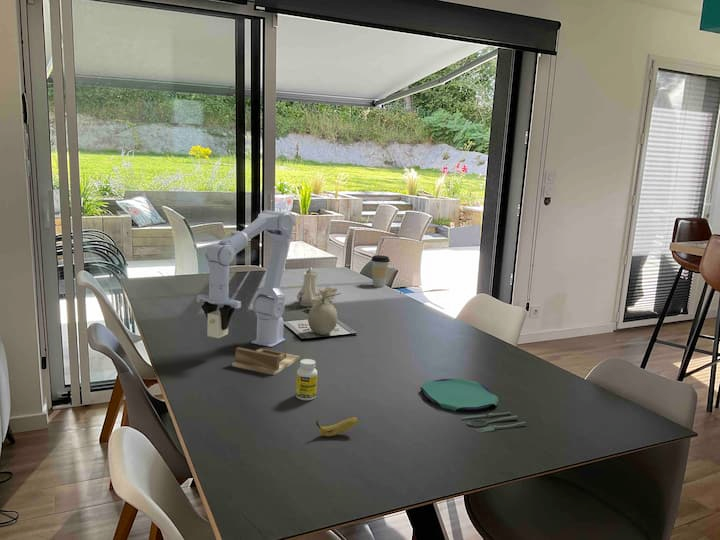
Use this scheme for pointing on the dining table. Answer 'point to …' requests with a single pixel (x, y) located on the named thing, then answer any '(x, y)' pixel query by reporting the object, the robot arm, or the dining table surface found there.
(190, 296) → the dining table surface
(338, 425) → the banana
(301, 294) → the chinaware
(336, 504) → the dining table surface
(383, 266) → the coffee cup
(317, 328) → the fruit
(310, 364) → the supplement bottle
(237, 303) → the robot arm
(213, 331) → the cabinet block
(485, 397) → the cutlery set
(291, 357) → the board
